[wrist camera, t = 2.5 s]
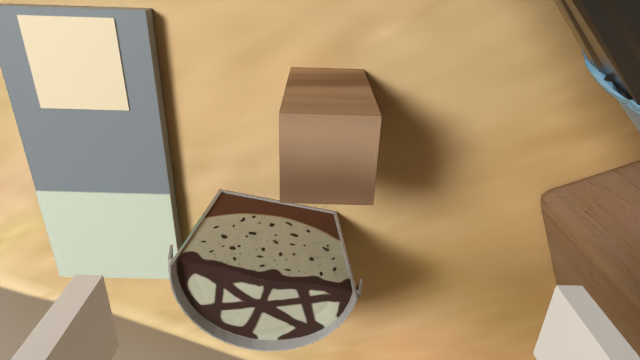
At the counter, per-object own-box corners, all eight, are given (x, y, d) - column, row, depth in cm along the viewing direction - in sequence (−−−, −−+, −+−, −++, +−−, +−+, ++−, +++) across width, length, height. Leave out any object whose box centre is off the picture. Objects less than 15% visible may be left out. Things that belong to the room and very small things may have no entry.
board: (-5, 3, 29) (-19, 5, 28) (151, 8, 29) (144, 10, 28) (67, 266, 38) (59, 276, 37) (185, 269, 38) (181, 279, 37)
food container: (193, 248, 37) (153, 341, 29) (200, 185, 35) (159, 264, 26) (336, 274, 39) (341, 370, 30) (354, 214, 36) (366, 300, 27)
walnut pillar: (290, 67, 31) (279, 113, 22) (363, 69, 31) (381, 116, 22) (290, 135, 33) (280, 202, 24) (358, 137, 33) (373, 205, 24)
